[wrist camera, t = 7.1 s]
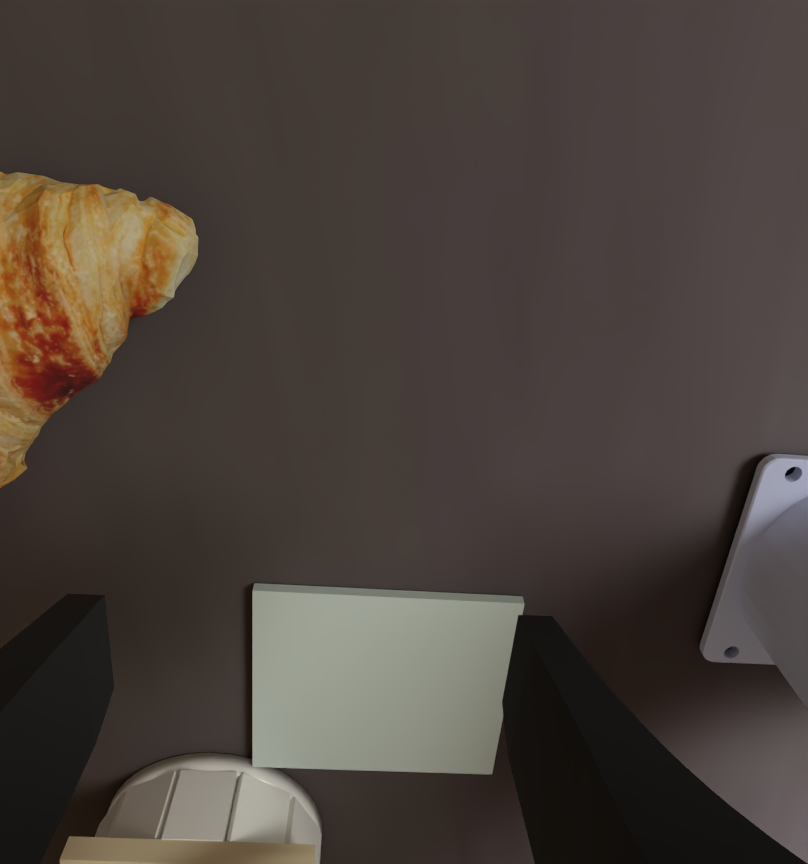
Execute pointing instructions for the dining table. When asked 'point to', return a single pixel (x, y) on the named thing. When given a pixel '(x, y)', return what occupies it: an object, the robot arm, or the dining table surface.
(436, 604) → the plate
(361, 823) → the dining table surface
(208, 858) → the lid
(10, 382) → the croissant
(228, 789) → the bowl
